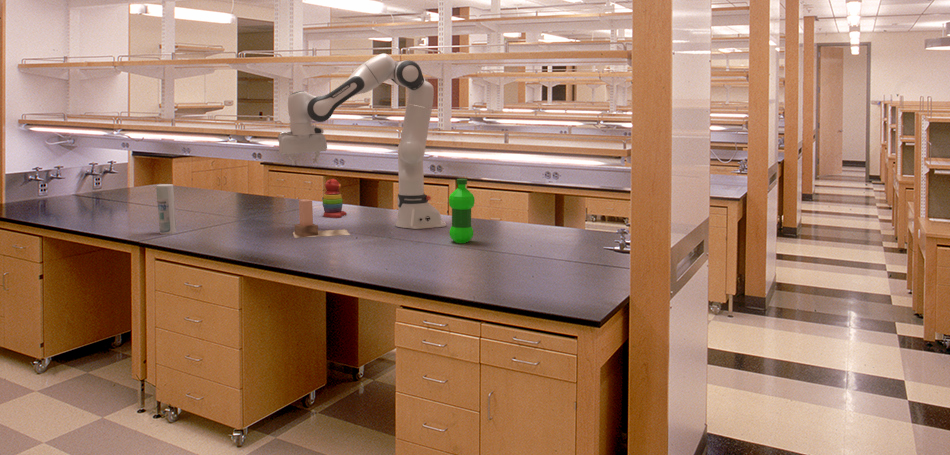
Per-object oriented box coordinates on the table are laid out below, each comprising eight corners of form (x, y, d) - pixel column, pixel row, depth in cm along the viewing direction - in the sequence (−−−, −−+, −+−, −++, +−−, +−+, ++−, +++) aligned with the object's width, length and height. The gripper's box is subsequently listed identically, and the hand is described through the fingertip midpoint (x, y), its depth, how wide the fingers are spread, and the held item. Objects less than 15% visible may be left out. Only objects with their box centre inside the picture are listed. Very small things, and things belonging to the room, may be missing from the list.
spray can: (156, 233, 290) (152, 185, 286) (168, 230, 296) (164, 183, 292) (168, 234, 288) (164, 186, 284) (180, 232, 294) (176, 184, 290)
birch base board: (346, 232, 297) (346, 229, 297) (350, 237, 286) (350, 234, 286) (292, 234, 290) (292, 232, 290) (294, 240, 279) (294, 237, 279)
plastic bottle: (452, 238, 286) (453, 177, 281) (477, 240, 283) (478, 178, 278) (444, 243, 277) (444, 180, 272) (470, 245, 274) (470, 181, 269)
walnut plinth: (311, 232, 290) (310, 222, 289) (318, 235, 284) (317, 225, 284) (294, 234, 286) (294, 224, 285) (301, 236, 280) (301, 227, 279)
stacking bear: (339, 218, 331) (338, 180, 328) (319, 217, 333) (318, 179, 330) (347, 214, 341) (347, 178, 338) (328, 213, 343) (327, 177, 340)
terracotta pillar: (309, 223, 287) (308, 199, 285) (313, 225, 284) (312, 200, 282) (299, 224, 285) (298, 200, 283) (303, 226, 282) (302, 201, 280)
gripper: (280, 132, 285) (284, 166, 287) (326, 129, 297) (330, 161, 299) (274, 132, 290) (278, 166, 292) (320, 129, 302) (324, 161, 304)
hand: (305, 163), depth 296 cm, fingers open, 8 cm apart
